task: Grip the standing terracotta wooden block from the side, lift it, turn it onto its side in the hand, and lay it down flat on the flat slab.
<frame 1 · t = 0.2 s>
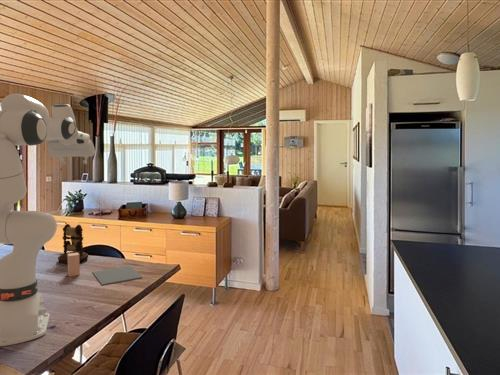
hand: (75, 163, 172), 53 cm above the table, tool tilted 25°, fingers open, 8 cm apart
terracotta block: (73, 274, 171), on the table
dark brown ornate stand: (73, 260, 193), on the table
flat slab: (116, 275, 171), on the table
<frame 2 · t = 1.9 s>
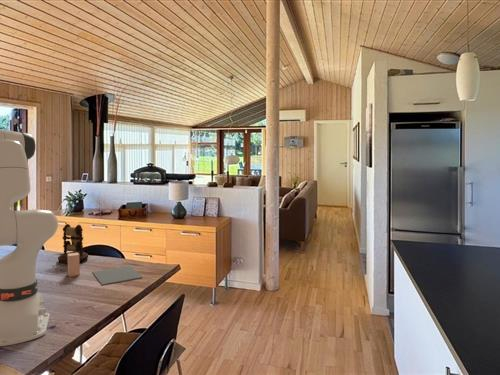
hand: (44, 232, 162), 22 cm above the table, tool horizontal, fingers open, 8 cm apart
nothing on the table moved.
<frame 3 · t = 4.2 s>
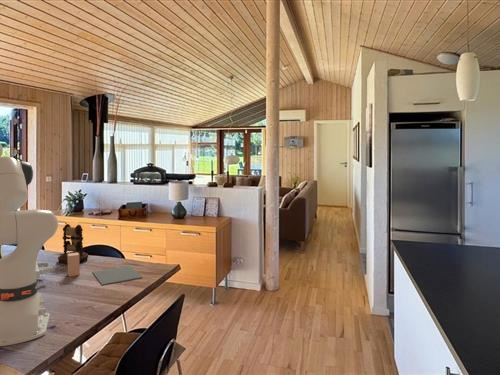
hand: (49, 266, 165), 5 cm above the table, tool horizontal, fingers open, 8 cm apart
nothing on the table moved.
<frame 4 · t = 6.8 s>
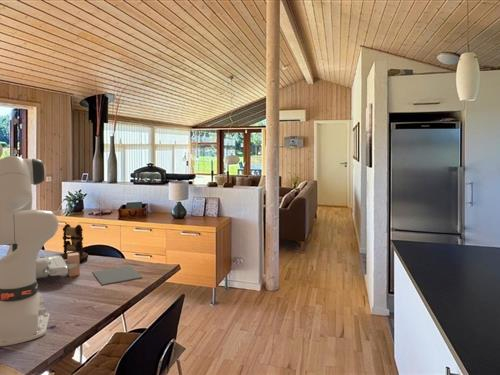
hand: (75, 262, 171), 6 cm above the table, tool horizontal, fingers closed on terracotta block, 4 cm apart
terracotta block: (73, 274, 171), on the table, touching gripper
everything else where it was.
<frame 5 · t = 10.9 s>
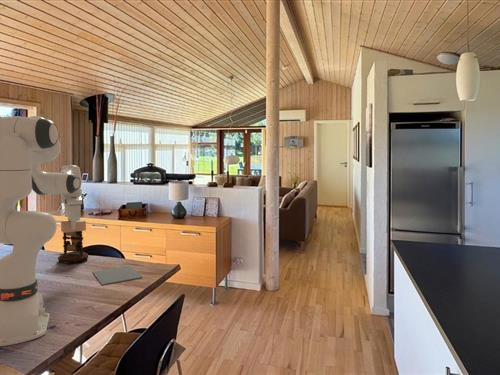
hand: (72, 227, 169), 23 cm above the table, tool pointing down, fingers closed on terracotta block, 4 cm apart
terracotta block: (84, 224, 172), point 24 cm above the table, tilted 90°, touching gripper
everything else where it was.
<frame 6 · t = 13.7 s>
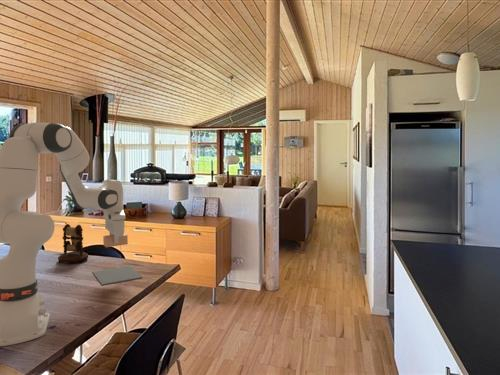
hand: (114, 241, 169), 17 cm above the table, tool pointing down, fingers closed on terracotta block, 4 cm apart
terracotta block: (126, 238, 173), point 17 cm above the table, tilted 91°, touching gripper
everything else where it was.
when the fingers open (4 cm above the table, at t = 16.4 s): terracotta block drops 2 cm, resting on flat slab.
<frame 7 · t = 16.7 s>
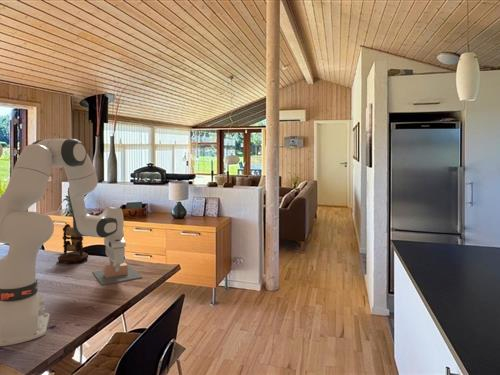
hand: (114, 268, 170), 4 cm above the table, tool pointing down, fingers open, 8 cm apart
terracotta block: (126, 268, 174), point 3 cm above the table, tilted 90°, touching flat slab
everything else where it was.
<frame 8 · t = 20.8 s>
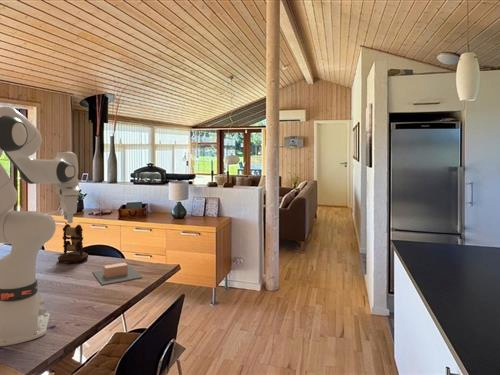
hand: (68, 221, 153), 29 cm above the table, tool pointing down, fingers open, 8 cm apart
nothing on the table moved.
at the end: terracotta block inside the target area (5.5 cm from its centre), point 2.7 cm above the table; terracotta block tilted 90°; the gripper is holding nothing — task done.
